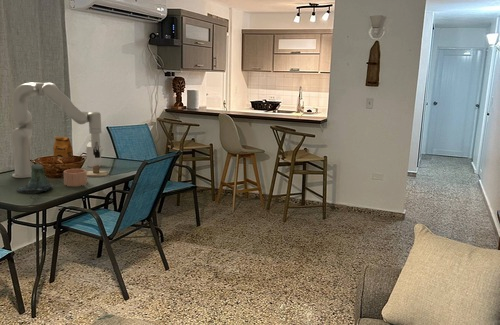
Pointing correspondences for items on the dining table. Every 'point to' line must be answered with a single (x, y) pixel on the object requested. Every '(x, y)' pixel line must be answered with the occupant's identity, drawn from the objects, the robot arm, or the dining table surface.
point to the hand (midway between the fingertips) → (96, 156)
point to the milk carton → (92, 156)
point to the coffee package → (62, 147)
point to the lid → (96, 172)
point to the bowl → (75, 177)
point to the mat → (103, 176)
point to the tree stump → (36, 181)
